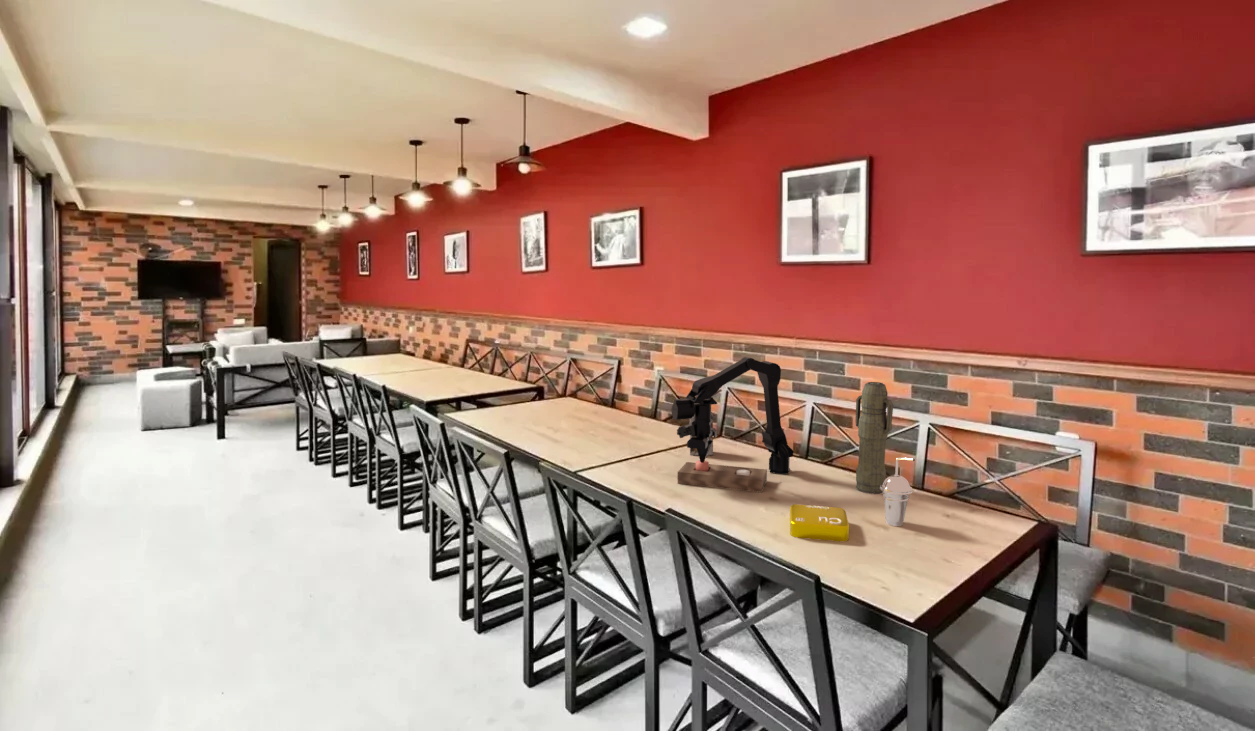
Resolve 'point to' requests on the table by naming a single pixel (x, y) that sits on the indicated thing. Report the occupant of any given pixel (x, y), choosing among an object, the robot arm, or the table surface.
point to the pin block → (723, 477)
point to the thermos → (872, 436)
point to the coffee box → (694, 451)
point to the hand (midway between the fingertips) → (702, 462)
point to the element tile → (818, 522)
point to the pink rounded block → (702, 466)
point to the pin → (743, 472)
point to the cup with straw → (896, 496)
